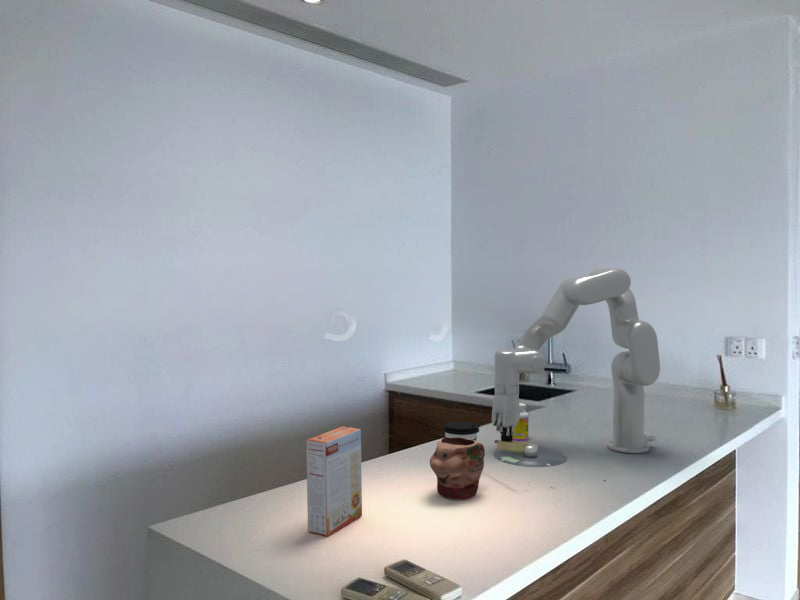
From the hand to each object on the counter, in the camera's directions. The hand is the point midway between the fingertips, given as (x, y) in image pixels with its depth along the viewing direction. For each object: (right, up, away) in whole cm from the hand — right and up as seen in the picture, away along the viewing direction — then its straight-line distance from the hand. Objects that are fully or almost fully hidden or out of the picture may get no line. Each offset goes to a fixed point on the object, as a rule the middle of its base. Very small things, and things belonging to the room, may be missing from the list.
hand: (506, 447), depth 205 cm
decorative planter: (-18, -4, -35) cm, 40 cm away
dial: (+6, -3, -6) cm, 9 cm away
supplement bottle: (+6, -2, +16) cm, 17 cm away
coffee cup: (-15, -3, -11) cm, 19 cm away
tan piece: (+2, -1, -4) cm, 5 cm away
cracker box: (-48, -5, -56) cm, 74 cm away
